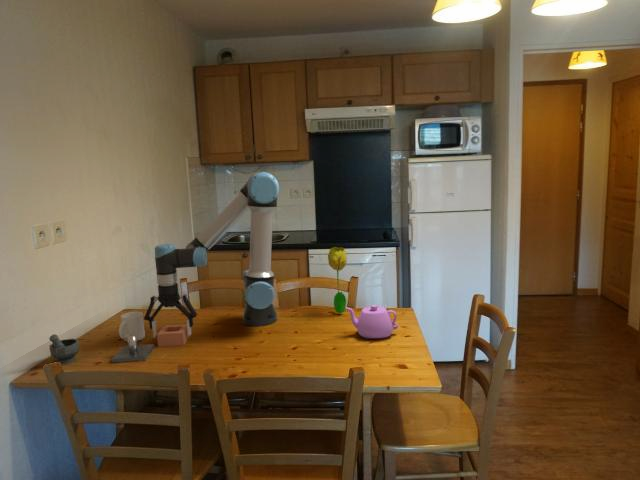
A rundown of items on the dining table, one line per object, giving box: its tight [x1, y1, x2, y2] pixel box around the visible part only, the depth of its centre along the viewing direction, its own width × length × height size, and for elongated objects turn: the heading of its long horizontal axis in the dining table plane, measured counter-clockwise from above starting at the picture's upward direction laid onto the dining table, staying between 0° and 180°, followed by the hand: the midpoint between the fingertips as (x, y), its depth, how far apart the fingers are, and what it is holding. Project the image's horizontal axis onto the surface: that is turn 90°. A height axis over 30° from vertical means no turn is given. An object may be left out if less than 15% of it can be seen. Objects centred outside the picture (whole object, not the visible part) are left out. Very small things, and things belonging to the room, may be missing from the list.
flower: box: [327, 246, 348, 315], centre depth 211 cm, size 9×8×30 cm
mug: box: [118, 311, 146, 343], centre depth 196 cm, size 12×8×10 cm
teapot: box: [345, 304, 399, 340], centre depth 186 cm, size 20×13×12 cm, turn 84°
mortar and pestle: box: [48, 333, 80, 366], centre depth 177 cm, size 11×9×12 cm
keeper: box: [110, 335, 156, 364], centre depth 180 cm, size 12×12×8 cm
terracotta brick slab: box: [156, 323, 190, 347], centre depth 192 cm, size 10×10×5 cm
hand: (172, 335), depth 192 cm, fingers open, 13 cm apart
